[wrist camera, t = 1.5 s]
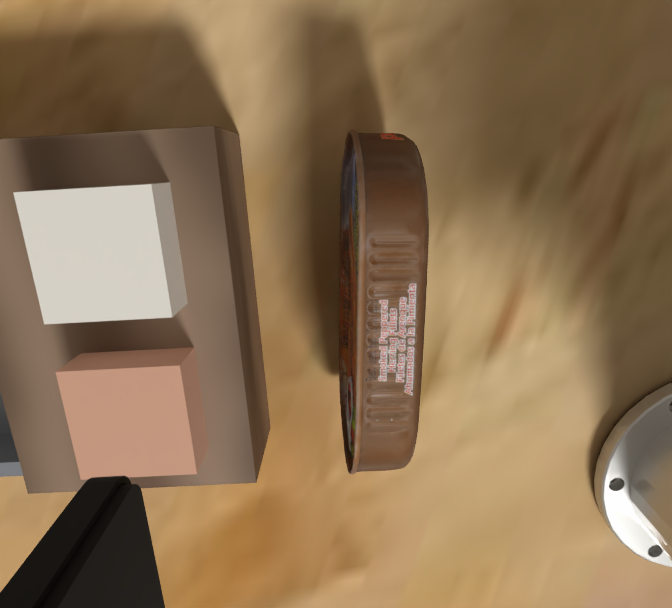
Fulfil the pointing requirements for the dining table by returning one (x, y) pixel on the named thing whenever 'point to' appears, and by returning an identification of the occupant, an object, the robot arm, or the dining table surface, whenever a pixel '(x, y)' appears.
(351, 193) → the tin
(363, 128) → the dining table surface
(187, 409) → the terracotta tile
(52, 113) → the dining table surface
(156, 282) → the cream tile
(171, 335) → the brown flat block
